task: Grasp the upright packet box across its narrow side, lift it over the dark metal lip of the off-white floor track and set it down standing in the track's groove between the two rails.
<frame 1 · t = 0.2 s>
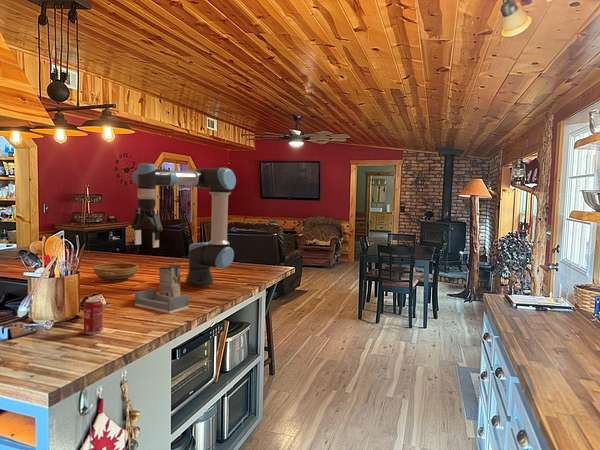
hand: (146, 245, 198), 27 cm above the counter, fingers open, 13 cm apart
beverage can: (93, 332, 161), on the counter
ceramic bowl: (116, 280, 252), on the counter
track: (161, 306, 198), on the counter
coffee box: (170, 299, 211), on the counter
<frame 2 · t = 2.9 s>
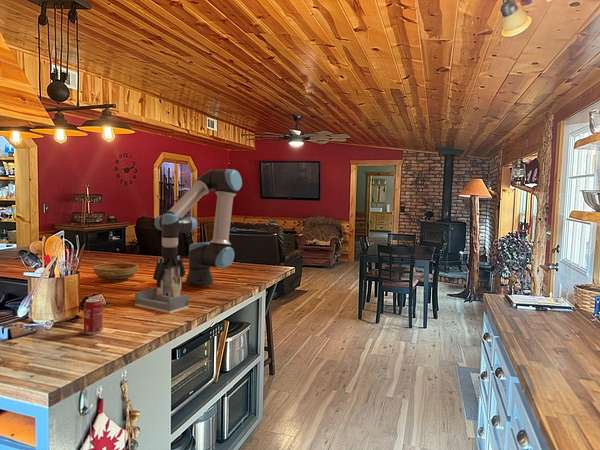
hand: (169, 291, 211), 4 cm above the counter, fingers open, 11 cm apart
coffee box: (170, 299, 211), on the counter, touching gripper
everything else where it was.
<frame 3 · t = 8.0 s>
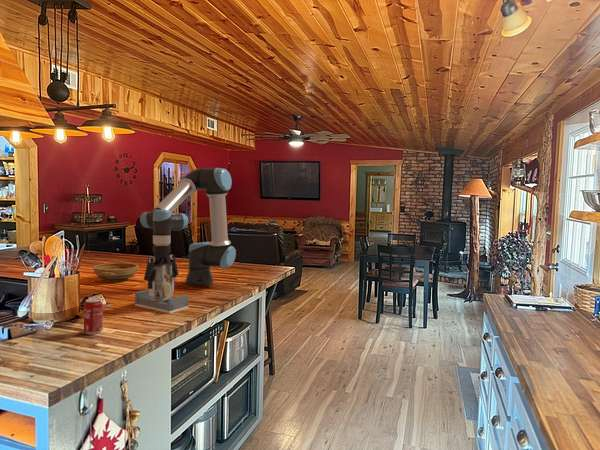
hand: (161, 293, 197), 6 cm above the counter, fingers closed on coffee box, 10 cm apart
coffee box: (161, 299, 197), point 3 cm above the counter, touching gripper, track
everything else where it was.
when the fingers open (6 cm above the counter, at t = 8.8 s): coffee box stays where it is, resting on track.
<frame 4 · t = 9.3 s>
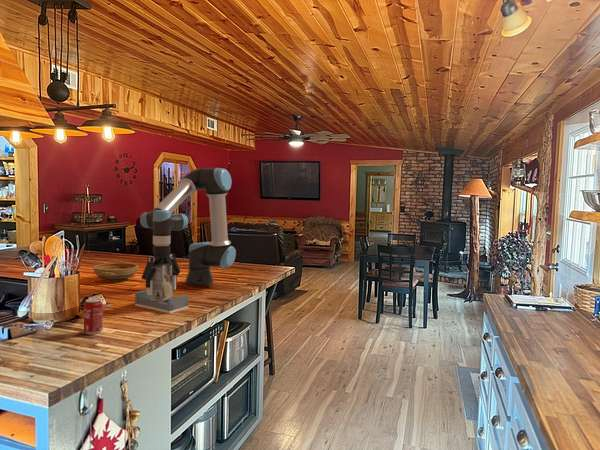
hand: (161, 292, 197), 7 cm above the counter, fingers open, 13 cm apart
coffee box: (161, 299, 197), point 3 cm above the counter, touching track
everything else where it was.
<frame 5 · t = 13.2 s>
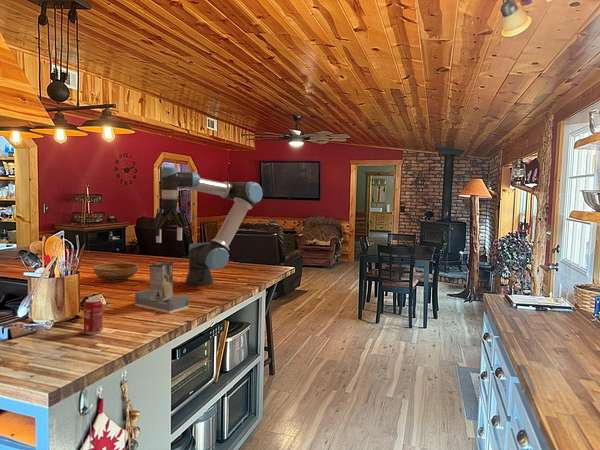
hand: (169, 241, 219), 27 cm above the counter, fingers open, 13 cm apart
nothing on the counter moved.
at the end: coffee box inside the target area on the track (0.1 cm from its centre), point 3.3 cm above the track's base; coffee box tilted 0°; the gripper is holding nothing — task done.
